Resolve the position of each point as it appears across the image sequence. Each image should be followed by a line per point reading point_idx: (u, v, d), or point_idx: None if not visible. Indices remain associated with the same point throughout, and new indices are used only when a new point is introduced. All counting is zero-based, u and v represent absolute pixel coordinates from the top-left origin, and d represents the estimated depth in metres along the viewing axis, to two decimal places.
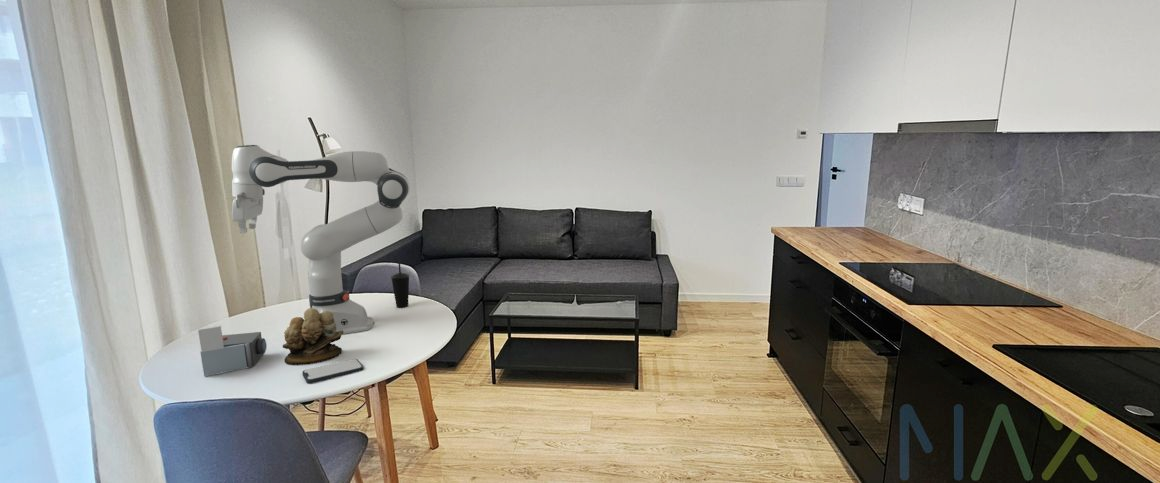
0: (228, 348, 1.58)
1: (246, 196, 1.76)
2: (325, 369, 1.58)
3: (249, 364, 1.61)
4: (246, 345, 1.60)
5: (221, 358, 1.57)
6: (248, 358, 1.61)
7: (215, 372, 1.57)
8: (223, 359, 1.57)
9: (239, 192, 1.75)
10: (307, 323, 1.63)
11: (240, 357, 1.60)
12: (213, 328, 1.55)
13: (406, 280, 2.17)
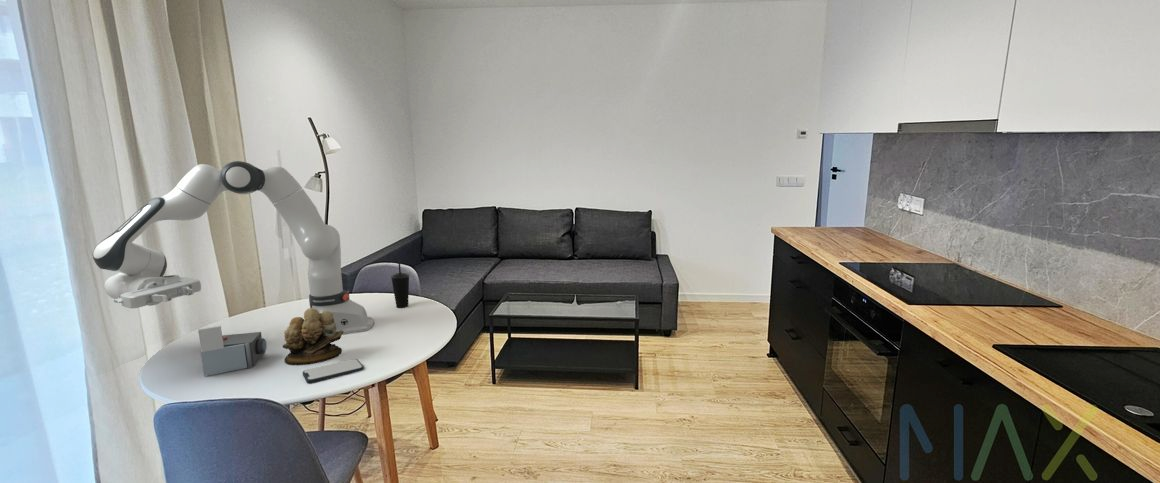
0: (228, 348, 1.58)
1: None
2: (325, 369, 1.58)
3: (249, 364, 1.61)
4: (246, 345, 1.60)
5: (221, 358, 1.57)
6: (248, 358, 1.61)
7: (215, 372, 1.57)
8: (223, 359, 1.57)
9: None
10: (307, 323, 1.63)
11: (240, 357, 1.60)
12: (213, 328, 1.55)
13: (406, 280, 2.17)
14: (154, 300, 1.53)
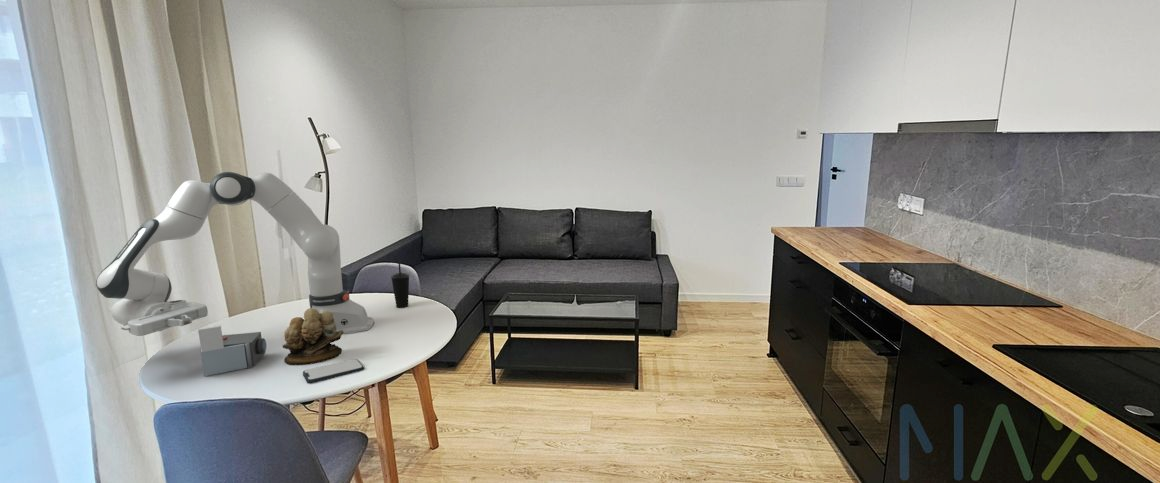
0: (228, 348, 1.58)
1: None
2: (325, 369, 1.58)
3: (249, 364, 1.61)
4: (246, 345, 1.60)
5: (221, 358, 1.57)
6: (248, 358, 1.61)
7: (215, 372, 1.57)
8: (223, 359, 1.57)
9: None
10: (307, 323, 1.63)
11: (240, 357, 1.60)
12: (213, 328, 1.55)
13: (406, 280, 2.17)
14: (170, 324, 1.55)
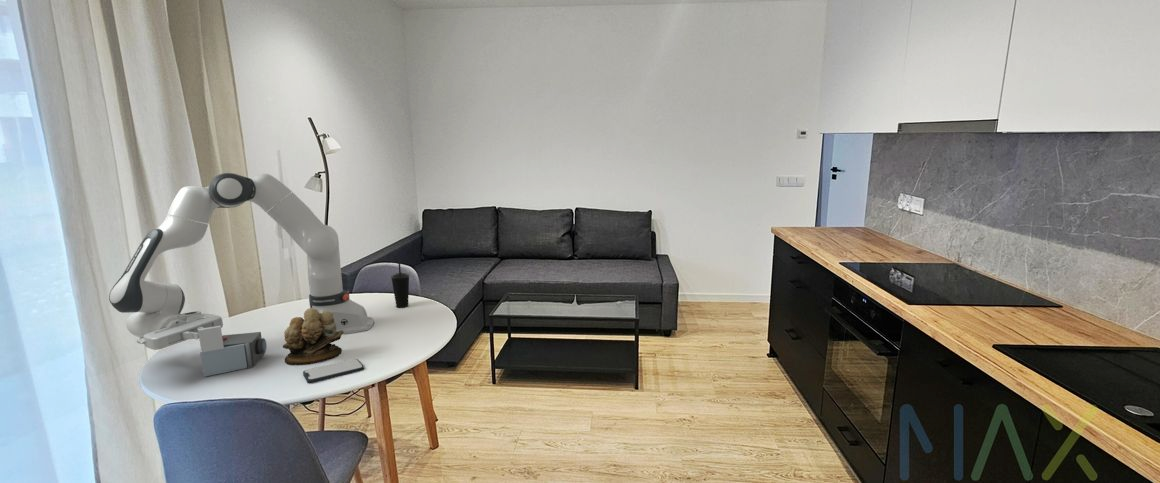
0: (228, 348, 1.57)
1: None
2: (326, 369, 1.58)
3: (249, 364, 1.61)
4: (246, 345, 1.60)
5: (221, 359, 1.57)
6: (248, 358, 1.61)
7: (215, 372, 1.57)
8: (223, 359, 1.57)
9: None
10: (307, 323, 1.63)
11: (240, 357, 1.60)
12: (213, 328, 1.54)
13: (406, 280, 2.17)
14: (185, 337, 1.53)
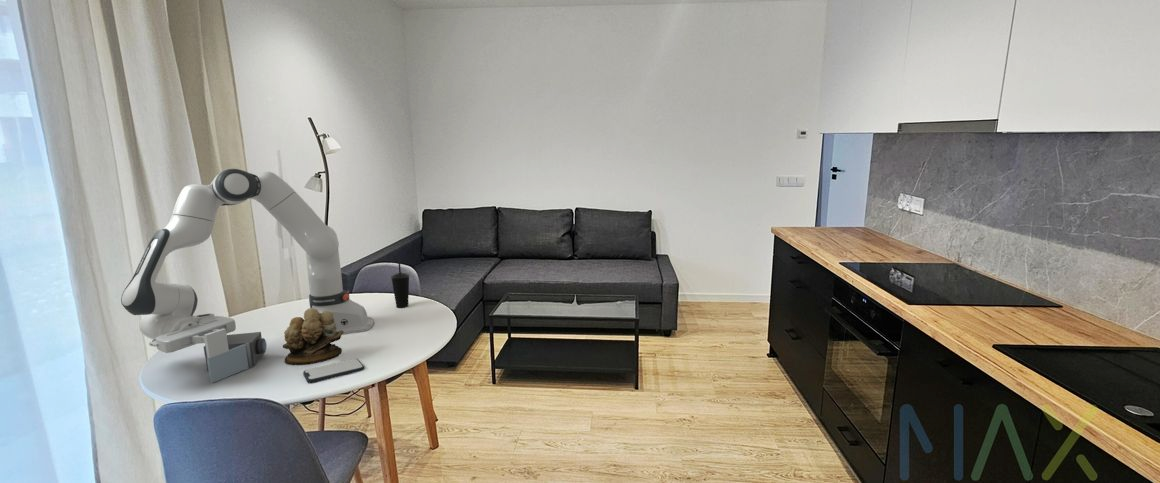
0: (232, 350, 1.56)
1: None
2: (326, 369, 1.58)
3: (250, 364, 1.61)
4: (247, 345, 1.60)
5: (226, 362, 1.55)
6: (249, 358, 1.61)
7: (221, 377, 1.54)
8: (228, 362, 1.55)
9: None
10: (307, 323, 1.63)
11: (242, 358, 1.59)
12: (219, 331, 1.52)
13: (406, 280, 2.17)
14: (194, 342, 1.50)
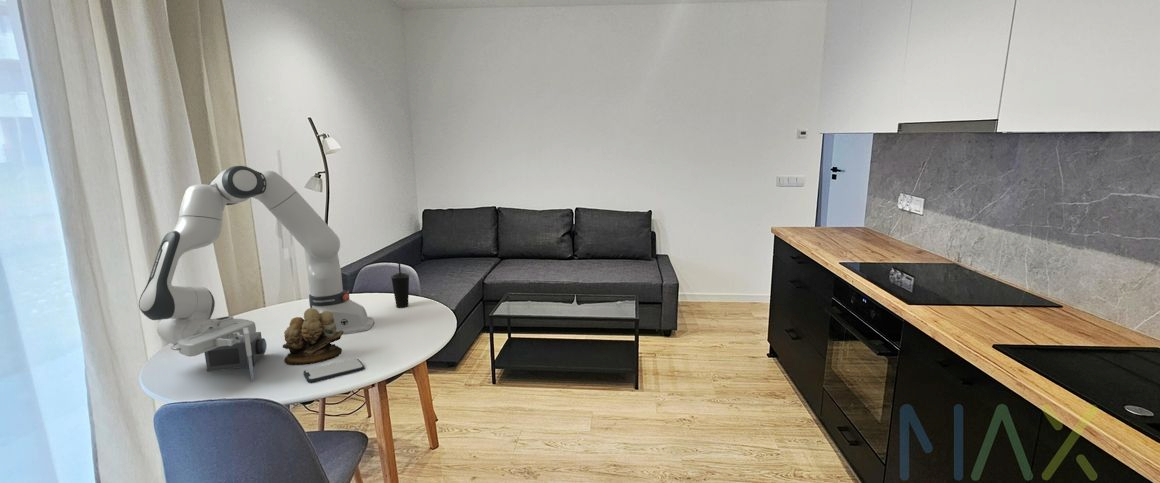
0: None
1: None
2: (326, 369, 1.58)
3: None
4: None
5: None
6: None
7: None
8: None
9: None
10: (307, 323, 1.63)
11: None
12: None
13: (406, 280, 2.17)
14: (218, 344, 1.48)
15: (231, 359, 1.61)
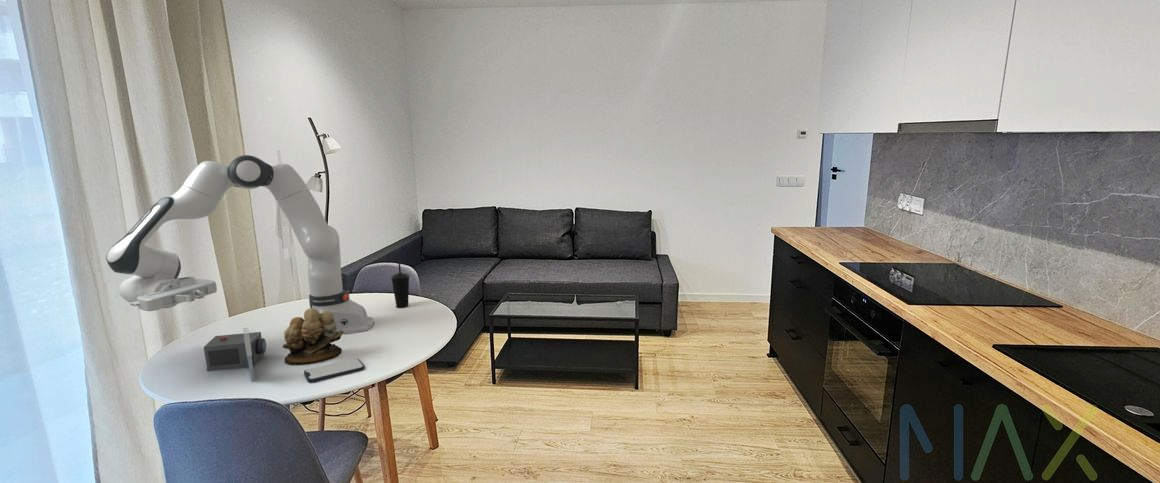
0: None
1: None
2: (326, 369, 1.58)
3: None
4: None
5: None
6: None
7: None
8: None
9: None
10: (307, 323, 1.63)
11: None
12: None
13: (406, 280, 2.17)
14: (177, 300, 1.53)
15: (231, 359, 1.61)
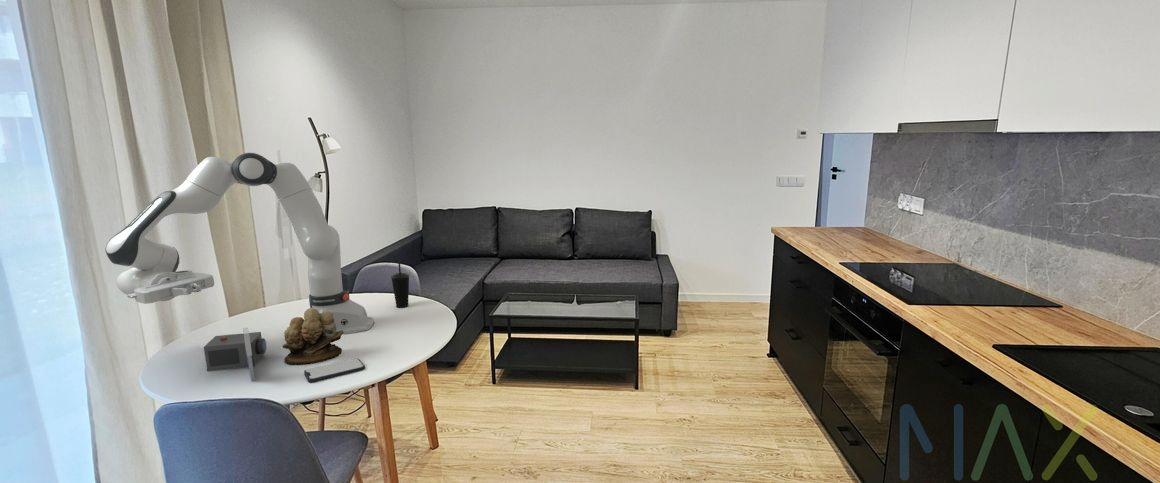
0: None
1: None
2: (327, 368, 1.58)
3: None
4: None
5: None
6: None
7: None
8: None
9: None
10: (307, 323, 1.63)
11: None
12: None
13: (406, 280, 2.17)
14: (174, 293, 1.53)
15: (231, 359, 1.61)
